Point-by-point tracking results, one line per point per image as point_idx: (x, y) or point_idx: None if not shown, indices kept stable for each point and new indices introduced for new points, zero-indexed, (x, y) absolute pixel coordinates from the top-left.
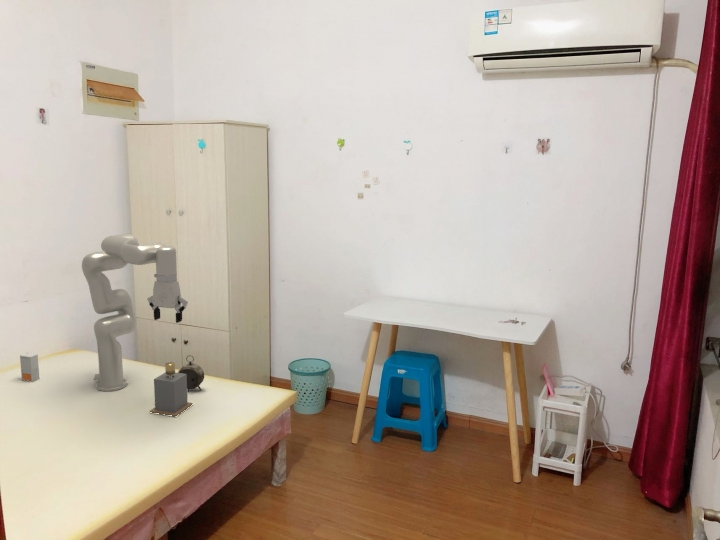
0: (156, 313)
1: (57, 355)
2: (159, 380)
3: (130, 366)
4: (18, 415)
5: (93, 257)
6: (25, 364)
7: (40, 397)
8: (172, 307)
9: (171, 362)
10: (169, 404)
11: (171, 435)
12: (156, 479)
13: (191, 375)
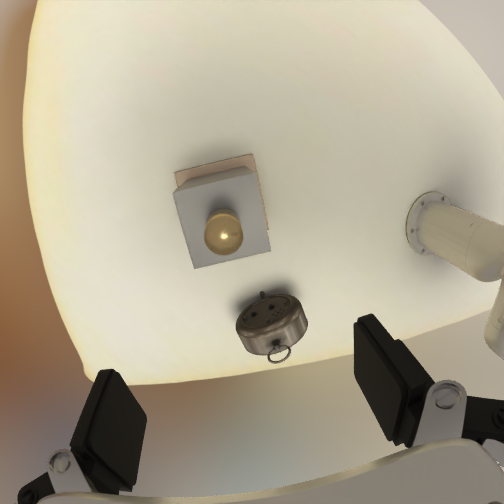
0: (382, 375)
1: None
2: (231, 177)
3: (447, 308)
4: (452, 49)
5: None
6: None
7: (481, 121)
8: (53, 496)
9: (230, 250)
10: (199, 178)
11: (117, 105)
12: (44, 11)
13: (258, 319)
